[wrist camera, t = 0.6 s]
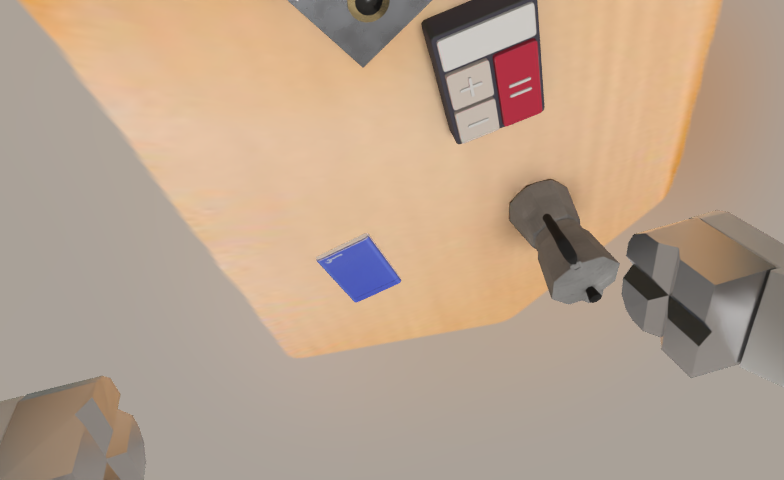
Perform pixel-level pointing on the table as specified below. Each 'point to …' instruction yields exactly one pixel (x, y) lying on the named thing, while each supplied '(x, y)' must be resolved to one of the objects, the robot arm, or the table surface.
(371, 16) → the hole plate
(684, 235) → the robot arm
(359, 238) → the hard drive
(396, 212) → the table surface
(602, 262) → the coffeepot
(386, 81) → the table surface
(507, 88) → the calculator
